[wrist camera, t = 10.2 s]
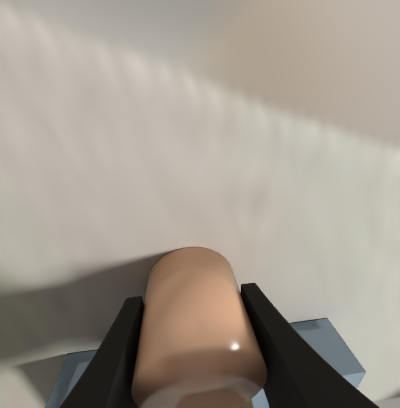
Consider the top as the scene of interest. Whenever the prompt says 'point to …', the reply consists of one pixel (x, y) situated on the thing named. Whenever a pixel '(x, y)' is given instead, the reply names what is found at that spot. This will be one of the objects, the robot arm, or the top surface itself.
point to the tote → (314, 335)
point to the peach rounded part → (196, 336)
